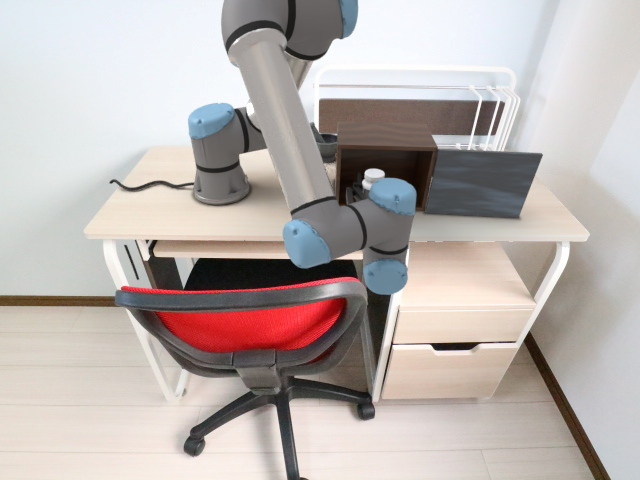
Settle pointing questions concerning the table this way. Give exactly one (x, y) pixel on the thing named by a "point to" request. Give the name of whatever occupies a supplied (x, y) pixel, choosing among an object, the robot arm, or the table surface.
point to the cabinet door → (481, 182)
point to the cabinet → (385, 155)
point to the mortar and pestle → (325, 144)
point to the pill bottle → (371, 179)
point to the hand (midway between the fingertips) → (371, 177)
